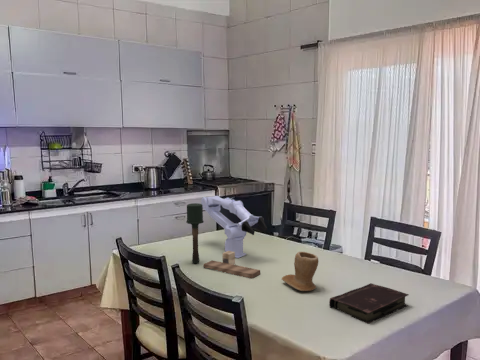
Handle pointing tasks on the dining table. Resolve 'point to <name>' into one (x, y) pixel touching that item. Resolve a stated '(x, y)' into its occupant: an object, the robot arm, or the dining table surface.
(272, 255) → the dining table surface
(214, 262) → the board
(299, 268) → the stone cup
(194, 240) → the potato masher grenade
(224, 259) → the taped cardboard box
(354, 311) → the diary
